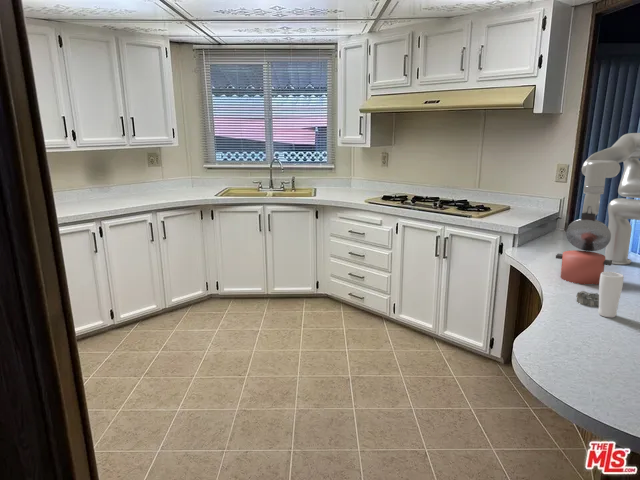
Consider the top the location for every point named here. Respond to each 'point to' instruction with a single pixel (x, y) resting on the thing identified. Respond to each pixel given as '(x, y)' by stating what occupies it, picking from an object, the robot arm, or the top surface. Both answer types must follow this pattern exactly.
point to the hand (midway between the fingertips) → (588, 231)
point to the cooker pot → (582, 266)
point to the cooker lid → (588, 233)
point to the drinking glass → (609, 293)
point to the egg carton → (588, 298)
